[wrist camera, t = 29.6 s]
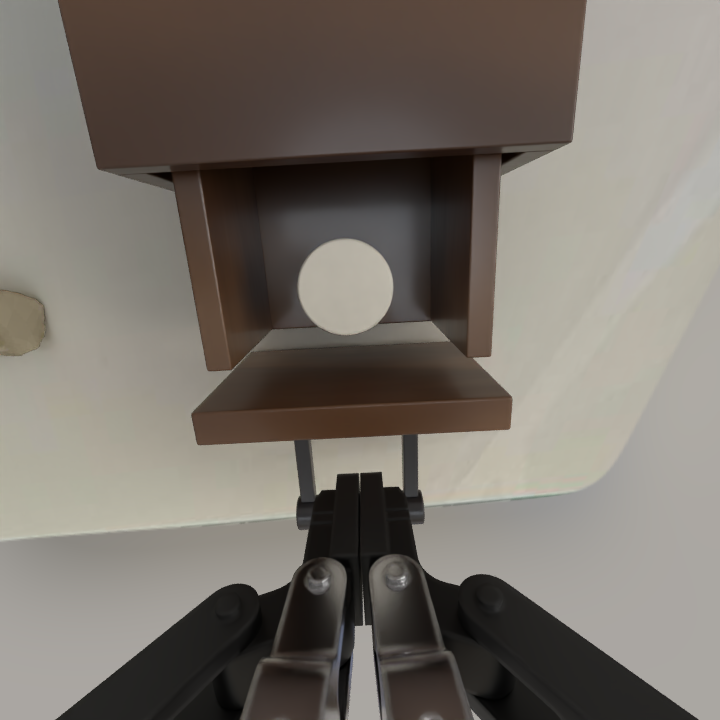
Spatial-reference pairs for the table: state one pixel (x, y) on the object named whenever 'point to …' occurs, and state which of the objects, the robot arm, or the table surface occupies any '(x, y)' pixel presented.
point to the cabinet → (321, 81)
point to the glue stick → (345, 286)
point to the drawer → (283, 310)
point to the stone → (20, 323)
